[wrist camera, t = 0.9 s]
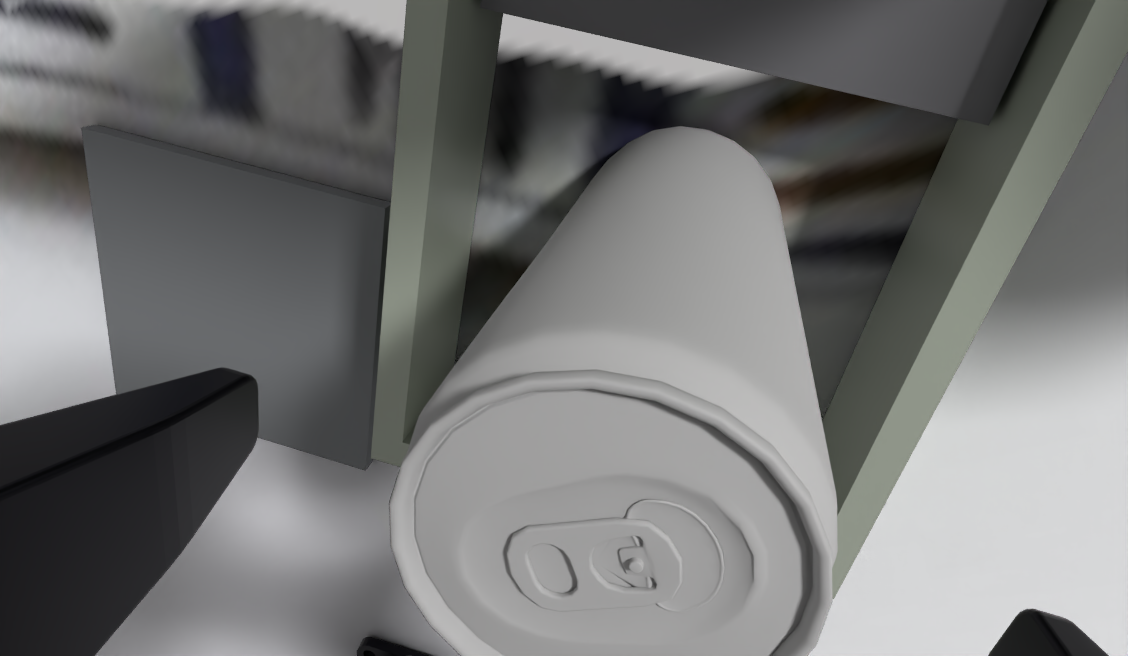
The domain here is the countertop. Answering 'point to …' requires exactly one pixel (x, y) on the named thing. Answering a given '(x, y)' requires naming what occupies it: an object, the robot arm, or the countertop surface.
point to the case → (805, 54)
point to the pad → (242, 285)
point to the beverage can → (632, 433)
